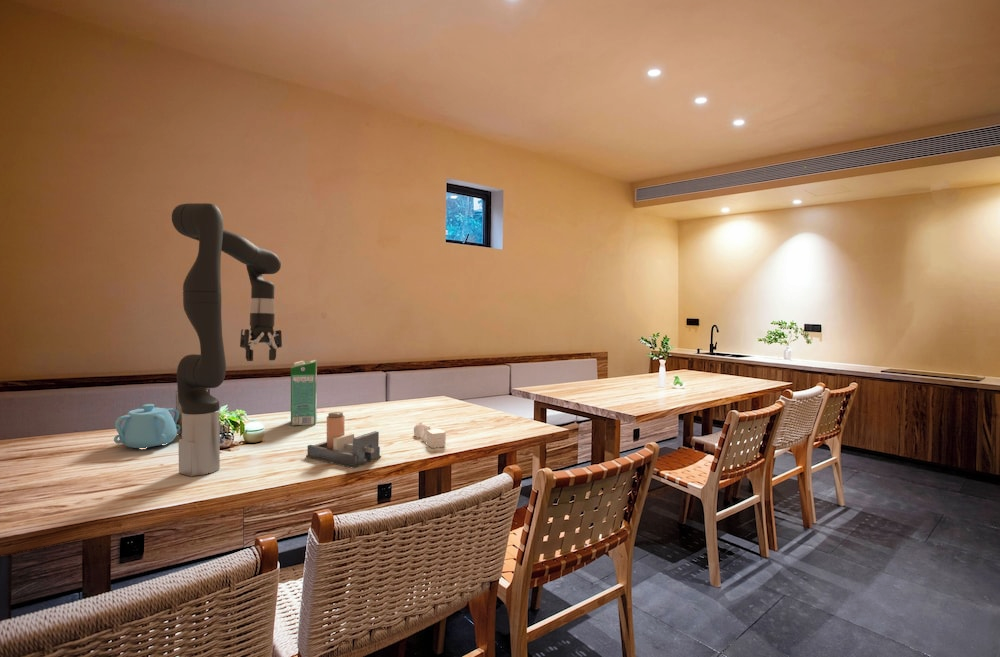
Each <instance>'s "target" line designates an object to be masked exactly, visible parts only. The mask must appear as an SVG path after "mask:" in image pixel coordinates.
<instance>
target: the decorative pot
mask: <svg viewBox="0 0 1000 657" xmlns="http://www.w3.org/2000/svg"><path fill="white" fill-rule="evenodd" d="M141 407H142V408H136V409H133V410H129V411H128V412H127V414H126V415H122V416H119V417H118V418H117V419H116V420H115V423H114V427H115V430H116V432H117V434H116V435H115V436H114V438H113V442H114V443H116V444H123V446H125V447H127V448H134V449H138V448H146V447H148V448H151V447H157V446H160V445H162V444H166V443H168V444H169V443H172V442H173V441H174V440H175V439H176V436H178V435H177V432H178V431H179V430H180V425H178V424H176V423H177V421H178V418H179V412H178V411H177V410H176V408H172V407H170V408H165V407H155V404H153V403H147V404H142V406H141ZM170 412H174V417H173V416H172V414H171V413H170ZM121 422H122V423H121ZM176 426H177V429H176ZM118 439H119V440H118Z"/></svg>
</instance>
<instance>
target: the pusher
mask: <svg viewBox="0 0 1000 657" xmlns="http://www.w3.org/2000/svg"><path fill="white" fill-rule="evenodd" d="M353 438H355V433H352V432H349V433H347V434H346V433H345V434H344V435H343V436H340V437H336V438H333V450H338V451H342V452H347V453H353ZM365 452H368V453H373V452H374V448H370V447H365Z"/></svg>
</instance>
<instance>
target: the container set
mask: <svg viewBox="0 0 1000 657" xmlns="http://www.w3.org/2000/svg"><path fill="white" fill-rule="evenodd" d="M431 428H432V427H431V425H426V423H424V422H423V421H419V422H418V423H416V424H415V425H414V427H413V435H414V436H417V437H416V438H420V440H421V441H420V442H422V441H424V442H423V443H426V442H427V443H426V445H427V446H428V447H429V446H430V447H429V448H431V449H437V448H436V447H438V448H444V447H446V439H447V438H446V436H447V435H446V431H445V430H443V429H440V428H435V429H431ZM414 436H413V437H414ZM443 446H444V447H443Z"/></svg>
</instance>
